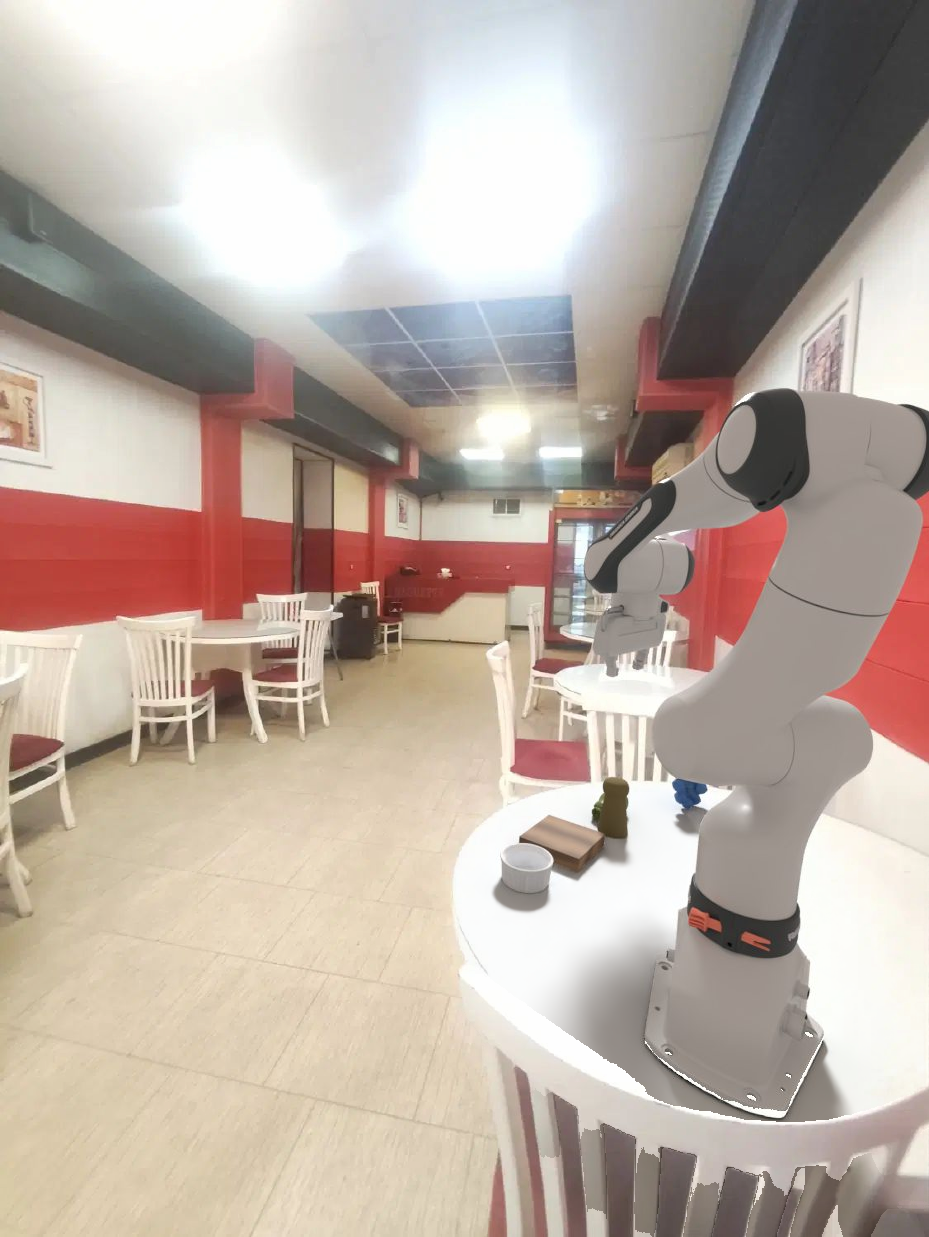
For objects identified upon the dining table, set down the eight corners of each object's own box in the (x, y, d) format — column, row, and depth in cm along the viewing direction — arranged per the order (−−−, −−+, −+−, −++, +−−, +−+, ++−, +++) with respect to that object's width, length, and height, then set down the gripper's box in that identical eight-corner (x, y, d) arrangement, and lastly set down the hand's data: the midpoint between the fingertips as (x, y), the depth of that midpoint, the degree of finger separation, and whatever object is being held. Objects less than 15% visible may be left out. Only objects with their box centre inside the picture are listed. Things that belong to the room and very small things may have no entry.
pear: (633, 790, 118) (607, 809, 112) (633, 812, 119) (607, 832, 113) (611, 781, 122) (584, 800, 116) (611, 803, 123) (585, 822, 117)
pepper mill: (624, 826, 113) (628, 775, 112) (630, 840, 107) (635, 786, 106) (595, 823, 114) (599, 772, 112) (599, 837, 108) (603, 783, 107)
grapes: (690, 822, 116) (695, 768, 115) (662, 810, 121) (667, 758, 120) (719, 810, 123) (723, 759, 122) (691, 799, 128) (695, 750, 127)
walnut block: (578, 872, 94) (579, 859, 94) (518, 849, 101) (519, 836, 101) (604, 846, 104) (605, 833, 104) (548, 826, 111) (548, 814, 111)
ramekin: (560, 893, 88) (562, 867, 88) (510, 899, 86) (511, 873, 85) (538, 863, 97) (540, 840, 96) (491, 869, 94) (493, 845, 94)
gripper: (618, 610, 96) (609, 685, 98) (674, 603, 109) (664, 669, 112) (588, 604, 100) (580, 676, 103) (645, 598, 114) (637, 661, 117)
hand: (625, 672), depth 108 cm, fingers open, 8 cm apart
